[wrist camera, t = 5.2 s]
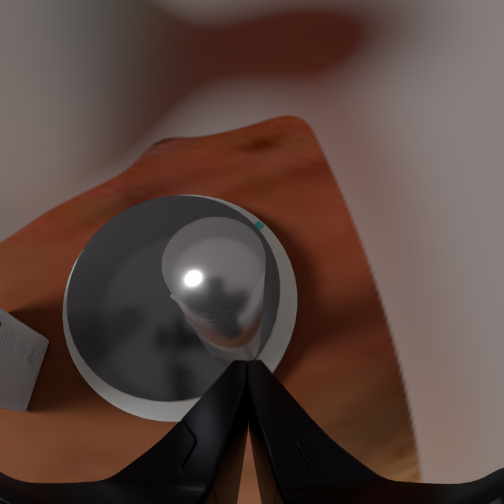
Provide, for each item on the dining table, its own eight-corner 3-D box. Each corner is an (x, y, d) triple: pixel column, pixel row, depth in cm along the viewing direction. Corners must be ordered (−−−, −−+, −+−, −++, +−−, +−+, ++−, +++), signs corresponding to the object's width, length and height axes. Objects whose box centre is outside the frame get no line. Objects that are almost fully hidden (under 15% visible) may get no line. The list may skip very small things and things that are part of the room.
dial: (174, 450, 12) (77, 480, 4) (45, 299, 16) (-48, 215, 8) (321, 276, 17) (370, 151, 9) (173, 179, 21) (144, 64, 13)
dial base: (301, 421, 14) (306, 421, 13) (62, 403, 14) (47, 400, 13) (284, 206, 21) (286, 190, 20) (98, 213, 21) (90, 200, 20)
